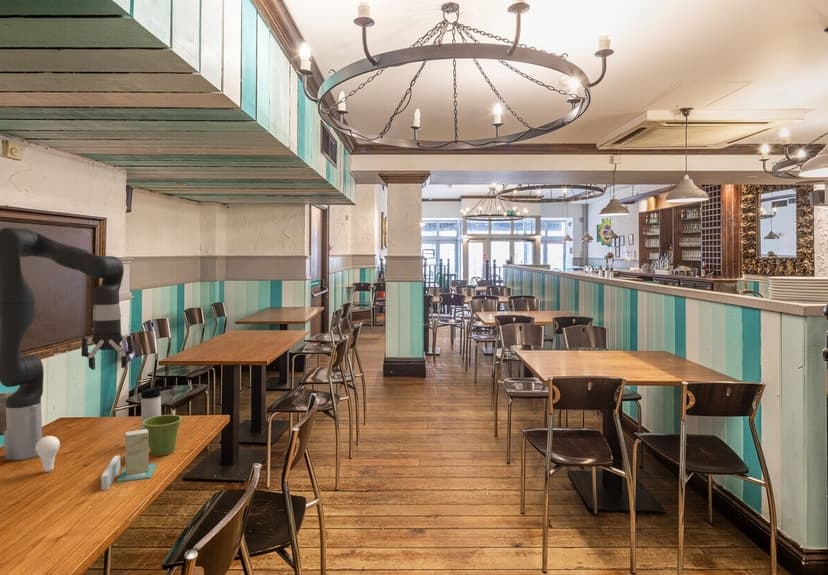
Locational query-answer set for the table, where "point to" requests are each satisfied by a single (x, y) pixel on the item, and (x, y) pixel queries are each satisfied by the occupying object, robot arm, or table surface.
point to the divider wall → (110, 472)
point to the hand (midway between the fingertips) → (108, 368)
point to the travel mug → (150, 403)
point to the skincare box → (136, 452)
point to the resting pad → (137, 476)
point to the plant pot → (162, 433)
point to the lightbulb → (47, 451)
